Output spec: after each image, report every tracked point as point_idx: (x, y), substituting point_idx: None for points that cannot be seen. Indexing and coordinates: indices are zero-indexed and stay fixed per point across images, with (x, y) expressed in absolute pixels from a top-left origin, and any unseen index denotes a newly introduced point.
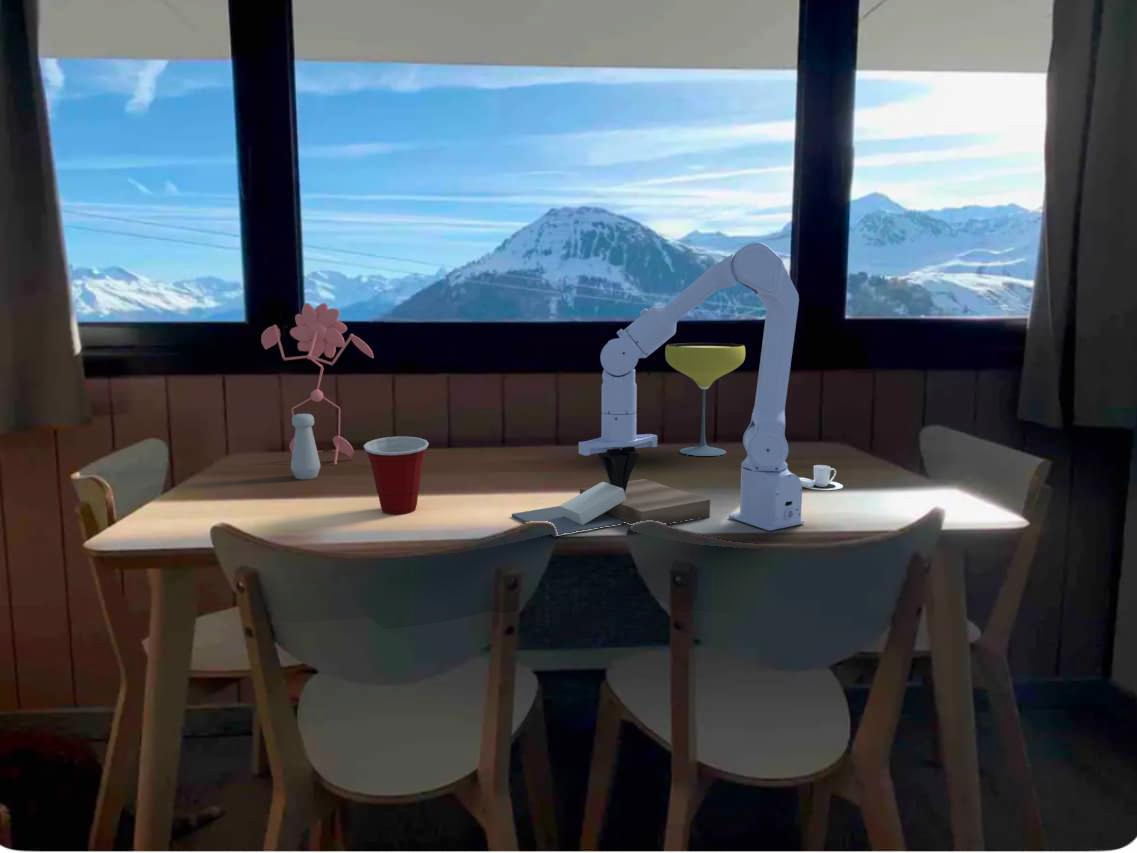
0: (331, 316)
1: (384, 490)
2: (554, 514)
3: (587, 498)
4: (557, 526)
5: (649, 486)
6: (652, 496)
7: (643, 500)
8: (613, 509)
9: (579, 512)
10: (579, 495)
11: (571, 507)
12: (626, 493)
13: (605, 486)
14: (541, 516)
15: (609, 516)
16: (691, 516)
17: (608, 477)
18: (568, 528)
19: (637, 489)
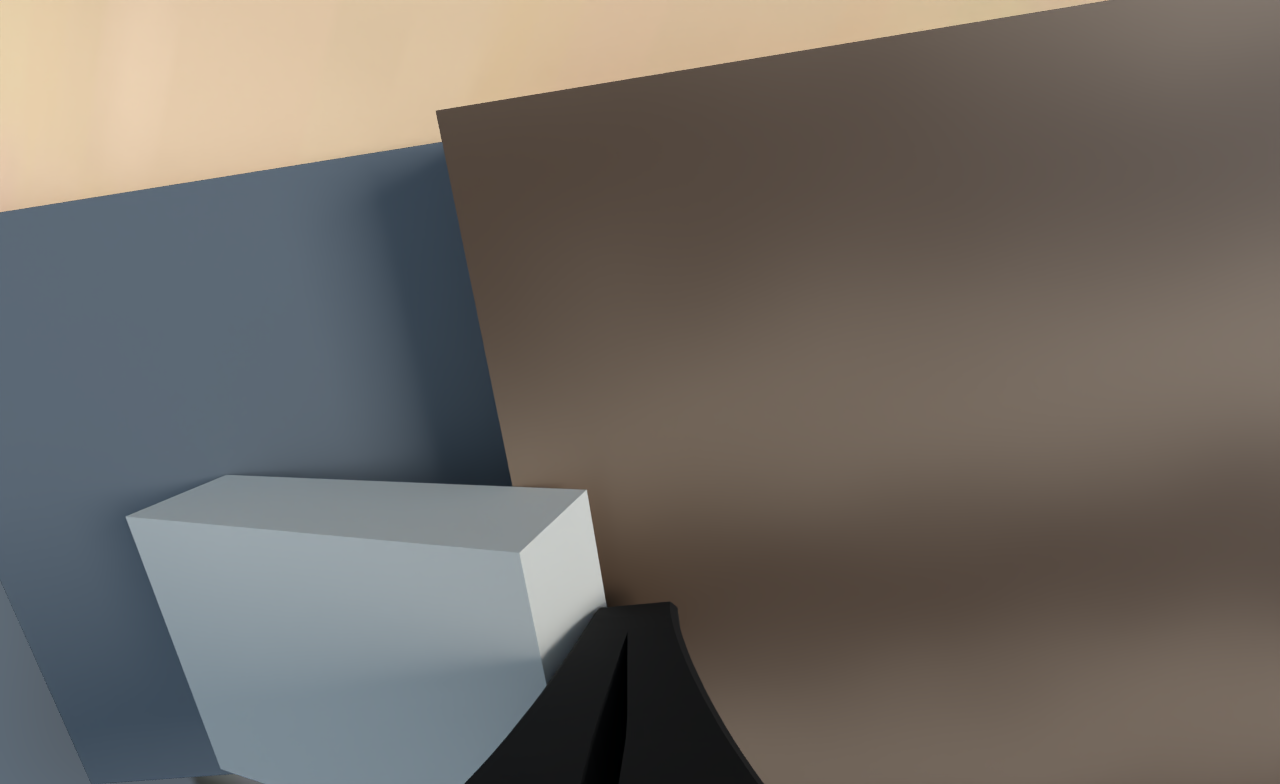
0: None
1: None
2: (175, 401)
3: (306, 667)
4: (138, 661)
5: (1210, 366)
6: (952, 705)
7: (798, 774)
8: None
9: (224, 757)
10: (266, 546)
11: (191, 642)
12: (800, 520)
13: (493, 676)
14: (69, 411)
15: None
16: None
17: (533, 703)
18: (194, 725)
19: (1001, 426)
